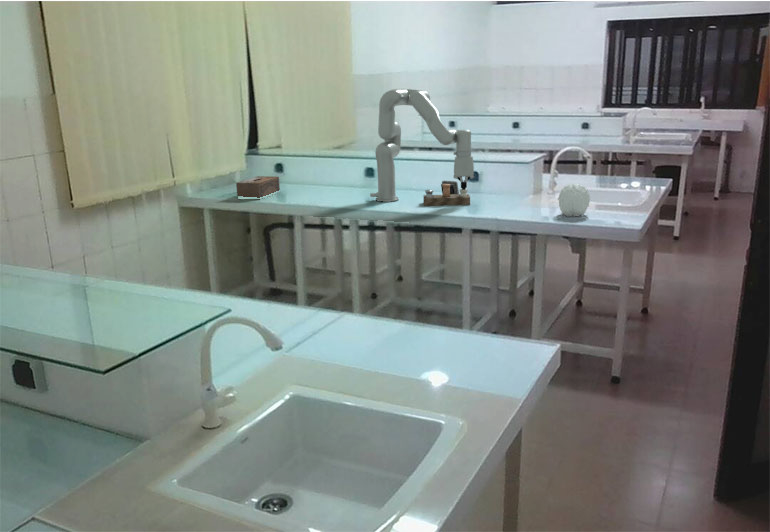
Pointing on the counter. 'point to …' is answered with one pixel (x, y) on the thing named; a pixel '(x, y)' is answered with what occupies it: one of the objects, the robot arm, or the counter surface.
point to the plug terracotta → (446, 190)
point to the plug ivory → (463, 192)
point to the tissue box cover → (258, 186)
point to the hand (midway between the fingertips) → (463, 189)
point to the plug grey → (429, 193)
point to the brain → (574, 199)
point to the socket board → (446, 200)
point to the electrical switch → (451, 186)
